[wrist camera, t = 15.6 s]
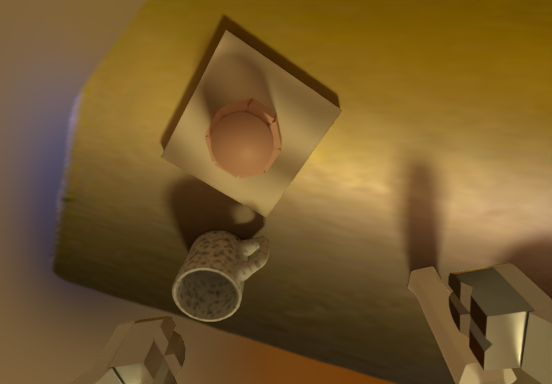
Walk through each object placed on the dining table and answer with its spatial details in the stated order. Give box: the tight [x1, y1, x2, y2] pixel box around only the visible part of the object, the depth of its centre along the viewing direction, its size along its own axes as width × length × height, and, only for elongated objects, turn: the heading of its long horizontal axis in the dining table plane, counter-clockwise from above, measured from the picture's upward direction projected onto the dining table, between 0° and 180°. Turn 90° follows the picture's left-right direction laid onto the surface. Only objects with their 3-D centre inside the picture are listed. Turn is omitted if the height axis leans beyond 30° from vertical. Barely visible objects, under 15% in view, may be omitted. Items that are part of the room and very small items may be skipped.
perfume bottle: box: [408, 266, 517, 384], centre depth 30 cm, size 5×4×15 cm
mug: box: [172, 230, 269, 321], centre depth 32 cm, size 10×7×7 cm
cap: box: [205, 98, 282, 178], centre depth 27 cm, size 6×6×4 cm
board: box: [161, 30, 342, 217], centre depth 30 cm, size 13×12×1 cm
